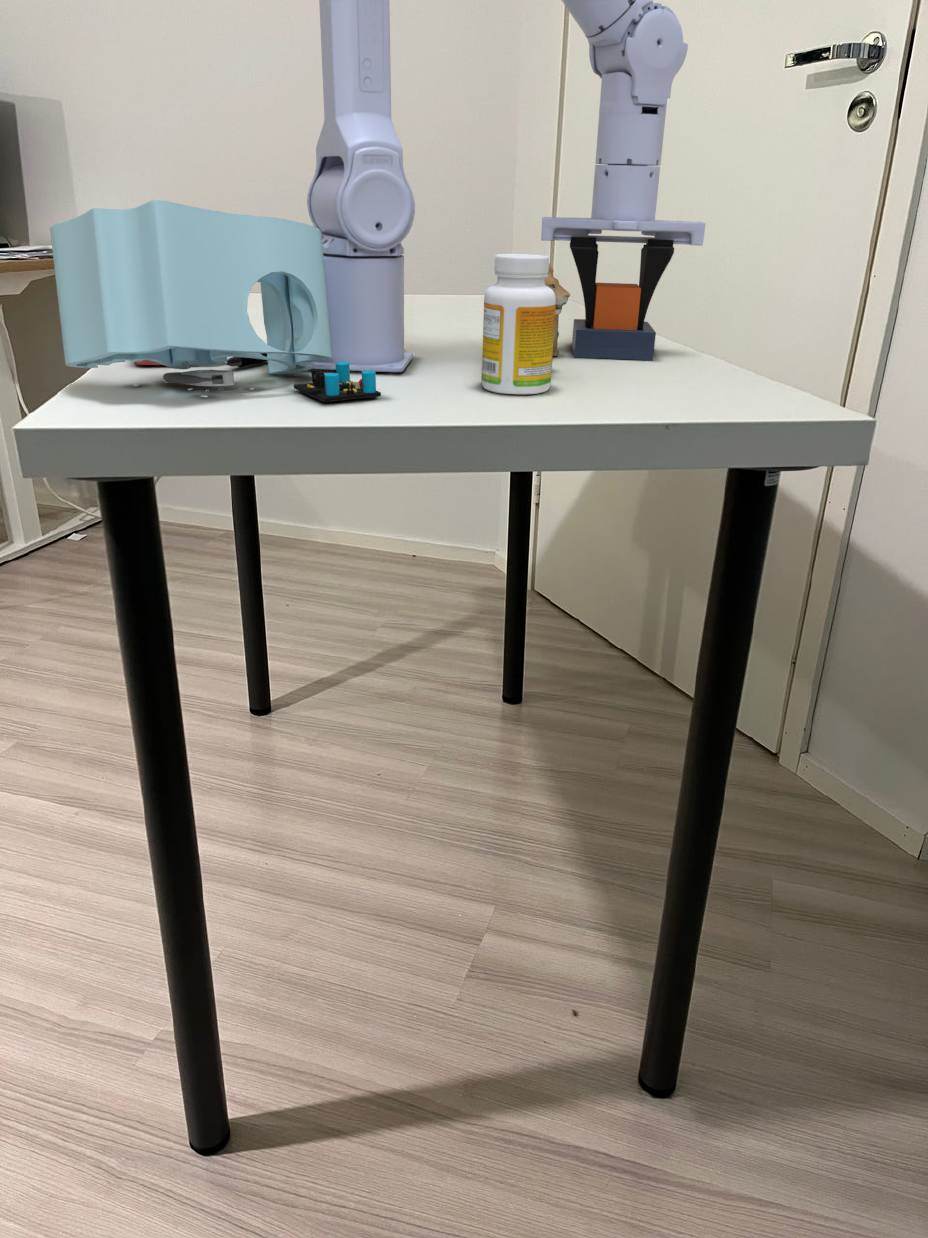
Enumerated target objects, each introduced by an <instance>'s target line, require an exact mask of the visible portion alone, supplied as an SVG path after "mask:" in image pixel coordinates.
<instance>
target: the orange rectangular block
mask: <svg viewBox="0 0 928 1238" xmlns="http://www.w3.org/2000/svg"><path fill="white" fill-rule="evenodd" d="M640 295H641V288H640V287H639V284H637V283H621V282H618V283H617V282H596V283H595V311H594V322H593V326H591V329H618V330H637V325H638V315H639V305H640Z"/></svg>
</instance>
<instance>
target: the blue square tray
mask: <svg viewBox="0 0 928 1238" xmlns="http://www.w3.org/2000/svg"><path fill="white" fill-rule="evenodd" d="M656 335H657V332H656V331H655V329H654V328H653V327H652V325H651V324H650V323H649V322H648V321H644V325H643V328H637V330H618V329H591V326H586V323H585V319H584V318H574V319H573V325H572V337H571V338H572V340H571V347H572V353H573V357H574V358H579V359H580V358H581V359H605V360H608V359H609V360H633V361H653V360H654V355H655V345H656Z"/></svg>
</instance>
